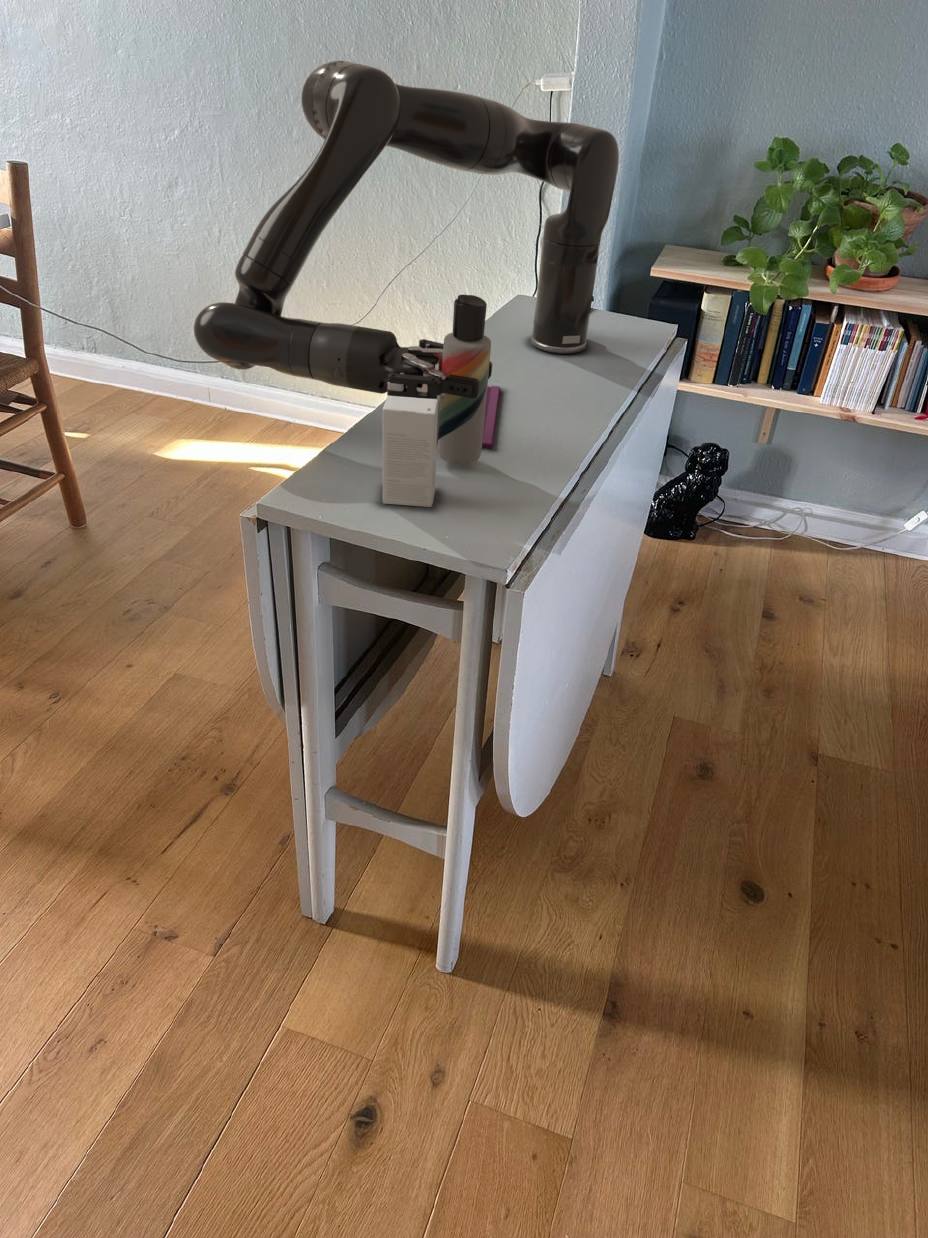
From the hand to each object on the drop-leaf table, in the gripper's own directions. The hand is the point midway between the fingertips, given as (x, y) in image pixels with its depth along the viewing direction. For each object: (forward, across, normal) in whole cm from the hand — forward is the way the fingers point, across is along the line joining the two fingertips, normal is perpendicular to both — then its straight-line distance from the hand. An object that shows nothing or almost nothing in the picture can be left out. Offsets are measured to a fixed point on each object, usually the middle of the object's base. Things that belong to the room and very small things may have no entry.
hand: (484, 379), depth 108 cm
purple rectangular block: (-5, +15, +12) cm, 19 cm away
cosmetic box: (-6, -11, +12) cm, 17 cm away
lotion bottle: (-2, 0, +11) cm, 11 cm away
